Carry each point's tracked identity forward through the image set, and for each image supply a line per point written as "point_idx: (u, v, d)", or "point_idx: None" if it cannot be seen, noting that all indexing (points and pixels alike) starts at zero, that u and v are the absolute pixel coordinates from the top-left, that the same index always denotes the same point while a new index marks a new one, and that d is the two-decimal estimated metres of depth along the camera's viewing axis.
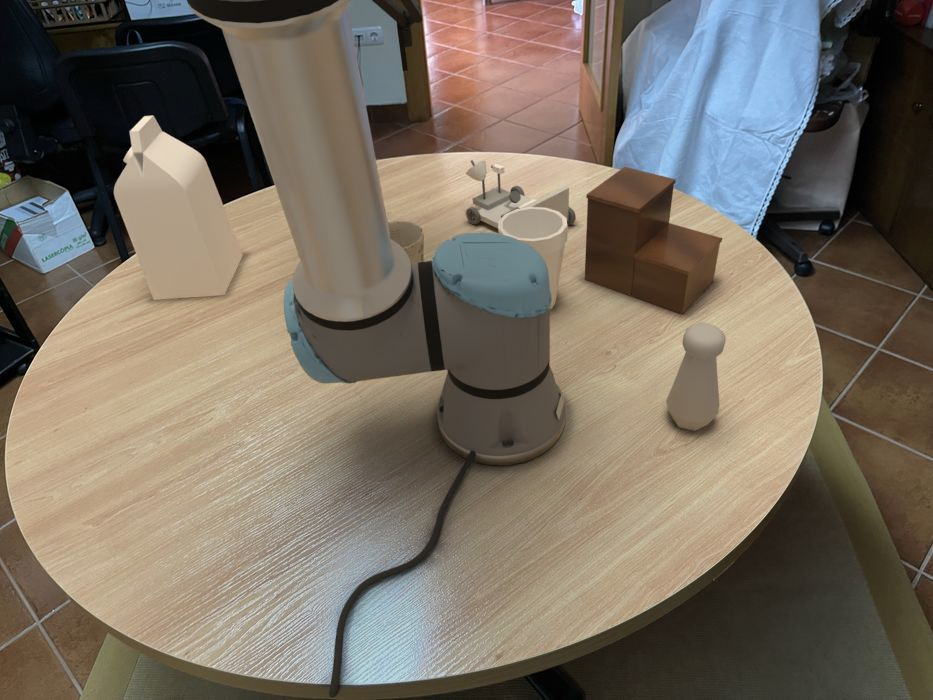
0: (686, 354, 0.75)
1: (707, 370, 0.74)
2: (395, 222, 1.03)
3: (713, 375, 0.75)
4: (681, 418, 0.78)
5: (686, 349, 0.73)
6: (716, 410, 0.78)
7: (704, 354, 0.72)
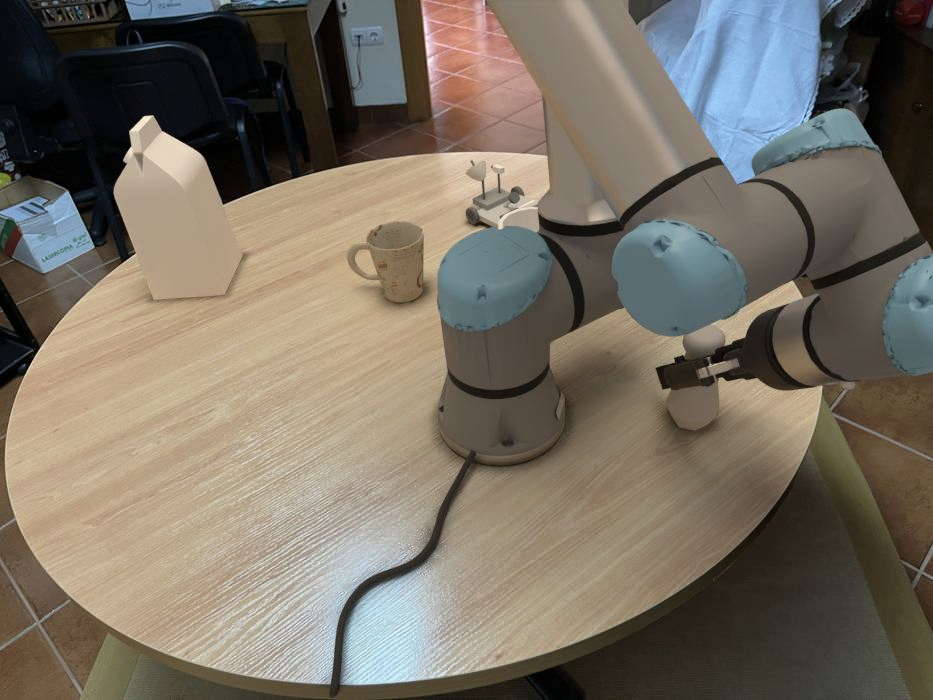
0: (686, 354, 0.75)
1: None
2: (395, 222, 1.03)
3: None
4: (681, 418, 0.78)
5: (686, 349, 0.73)
6: (716, 410, 0.78)
7: (704, 354, 0.72)
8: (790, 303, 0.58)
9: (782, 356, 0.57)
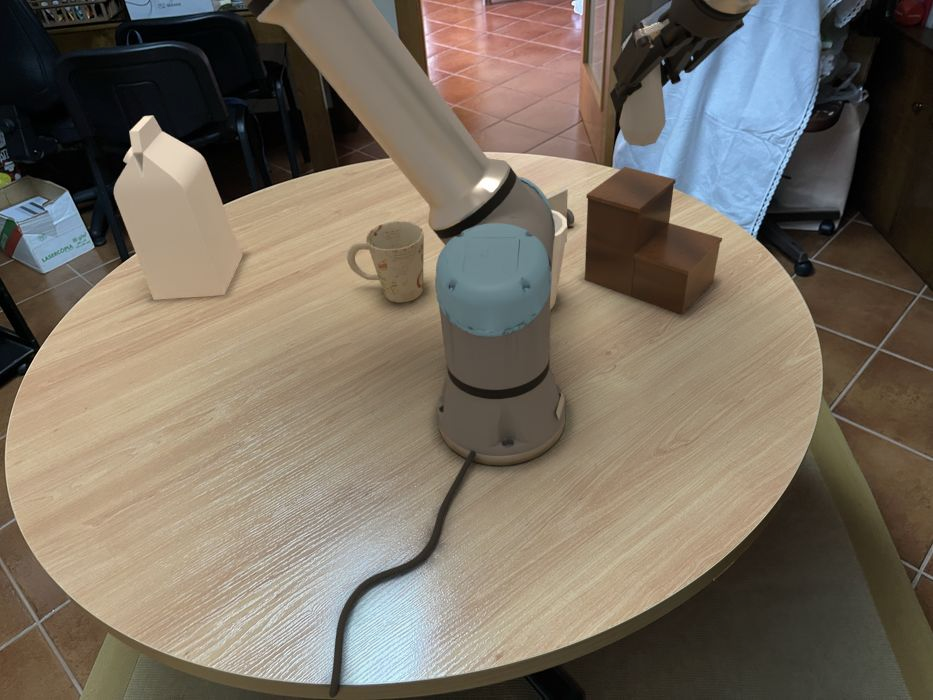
0: None
1: (651, 74, 0.84)
2: (395, 222, 1.03)
3: (657, 81, 0.85)
4: (631, 131, 0.88)
5: None
6: (662, 122, 0.88)
7: None
8: None
9: None
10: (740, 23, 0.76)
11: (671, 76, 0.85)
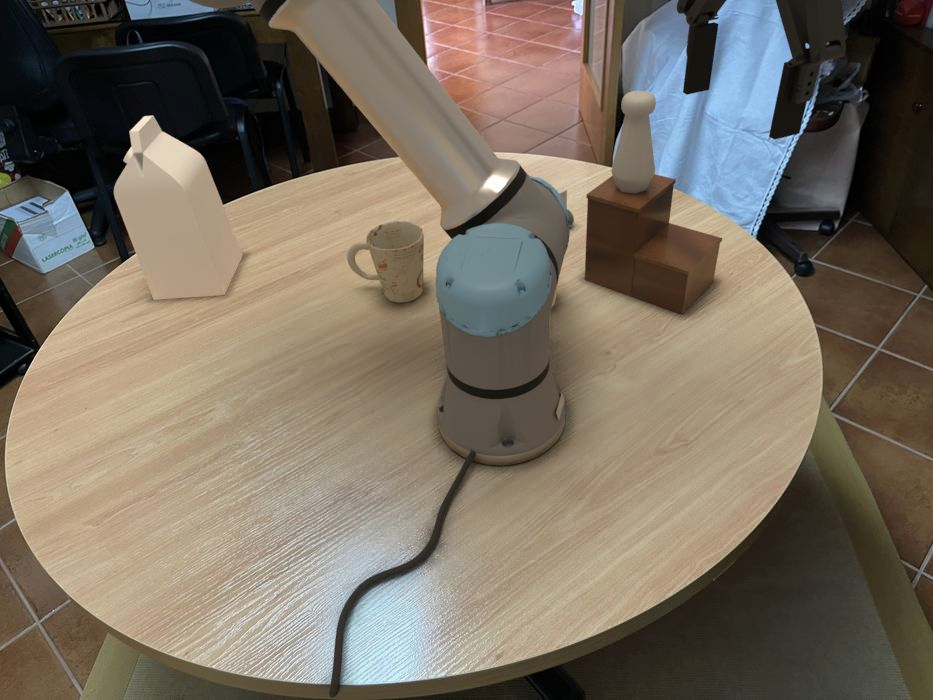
0: (625, 118, 0.91)
1: (641, 129, 0.90)
2: (395, 222, 1.03)
3: (647, 135, 0.91)
4: (623, 180, 0.94)
5: (624, 110, 0.89)
6: (652, 171, 0.93)
7: (638, 110, 0.88)
8: None
9: None
10: None
11: None
